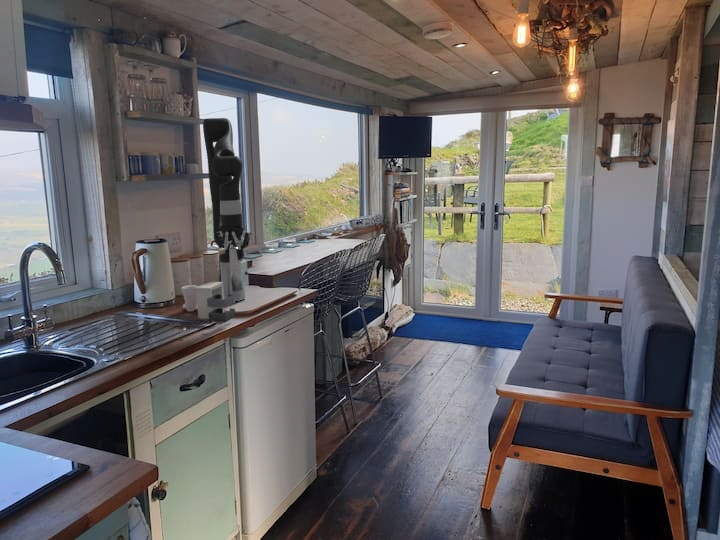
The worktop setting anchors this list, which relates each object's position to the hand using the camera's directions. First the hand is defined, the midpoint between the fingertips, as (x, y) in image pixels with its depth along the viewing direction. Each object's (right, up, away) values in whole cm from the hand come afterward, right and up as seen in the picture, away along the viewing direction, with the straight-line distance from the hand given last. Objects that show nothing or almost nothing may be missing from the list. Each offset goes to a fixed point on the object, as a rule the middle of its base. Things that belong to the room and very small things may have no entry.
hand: (234, 259), depth 198 cm
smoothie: (-22, -21, +20) cm, 36 cm away
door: (+1, -11, +5) cm, 12 cm away
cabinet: (-9, -22, +10) cm, 25 cm away
